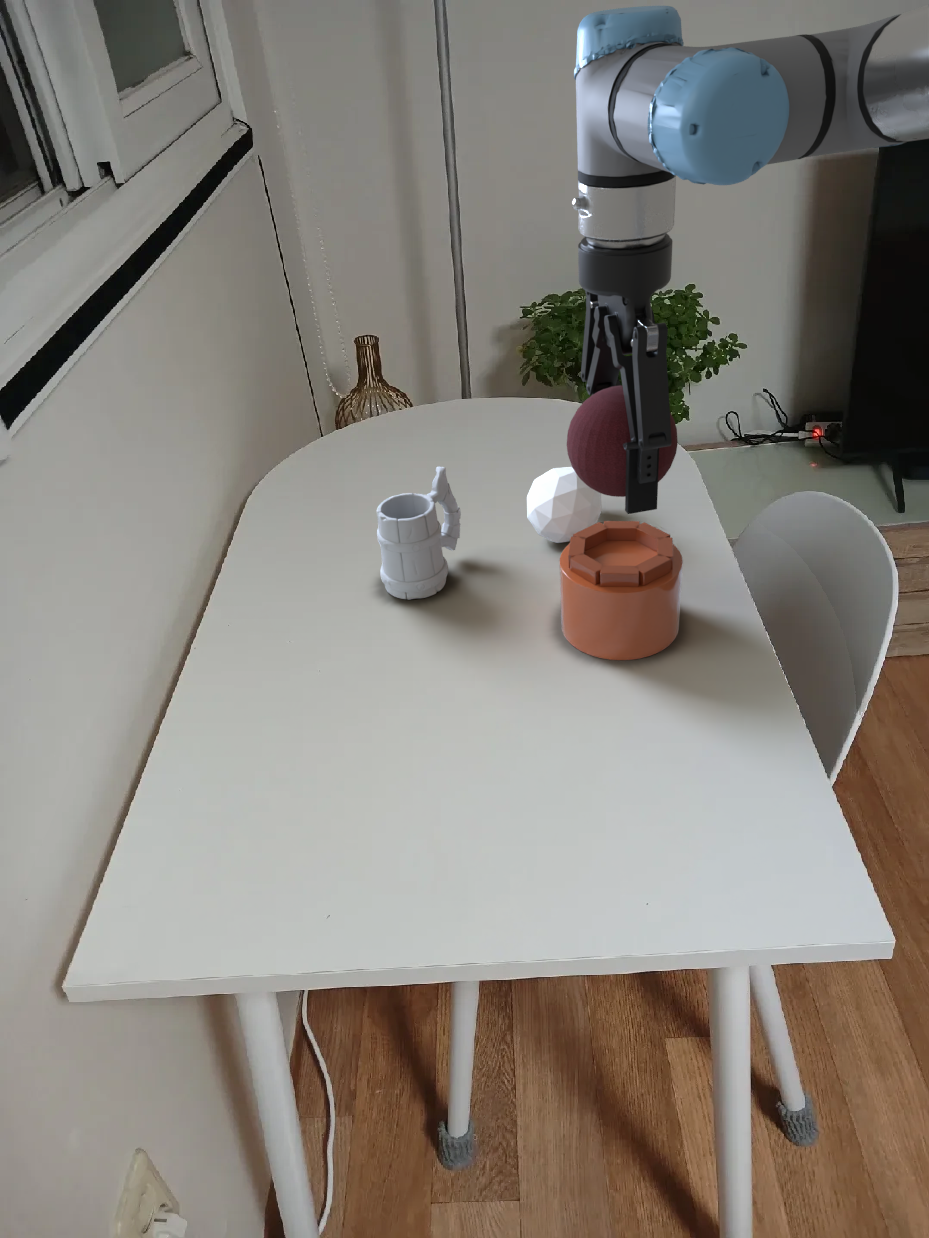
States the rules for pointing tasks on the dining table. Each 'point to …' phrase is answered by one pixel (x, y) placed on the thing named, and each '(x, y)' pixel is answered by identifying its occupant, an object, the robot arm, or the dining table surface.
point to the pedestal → (620, 590)
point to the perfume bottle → (562, 504)
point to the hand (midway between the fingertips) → (621, 483)
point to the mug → (417, 539)
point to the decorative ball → (607, 442)
